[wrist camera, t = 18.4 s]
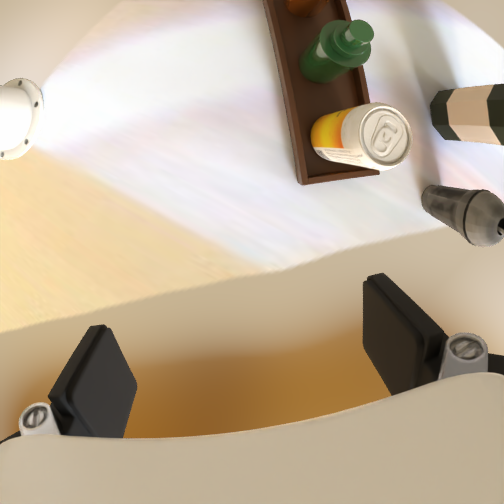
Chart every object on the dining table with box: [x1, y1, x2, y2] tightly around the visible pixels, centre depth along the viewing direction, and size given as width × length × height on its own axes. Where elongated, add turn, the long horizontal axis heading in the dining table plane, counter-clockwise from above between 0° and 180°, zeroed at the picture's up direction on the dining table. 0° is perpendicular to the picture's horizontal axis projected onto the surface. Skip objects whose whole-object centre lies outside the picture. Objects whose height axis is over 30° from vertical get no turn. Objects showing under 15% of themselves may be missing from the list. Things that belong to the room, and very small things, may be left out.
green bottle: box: [298, 20, 374, 84], centre depth 27 cm, size 6×6×14 cm
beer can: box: [310, 102, 412, 170], centre depth 30 cm, size 6×6×15 cm
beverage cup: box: [422, 185, 504, 247], centre depth 32 cm, size 7×7×20 cm
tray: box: [263, 0, 380, 185], centre depth 33 cm, size 11×30×3 cm, turn 10°
